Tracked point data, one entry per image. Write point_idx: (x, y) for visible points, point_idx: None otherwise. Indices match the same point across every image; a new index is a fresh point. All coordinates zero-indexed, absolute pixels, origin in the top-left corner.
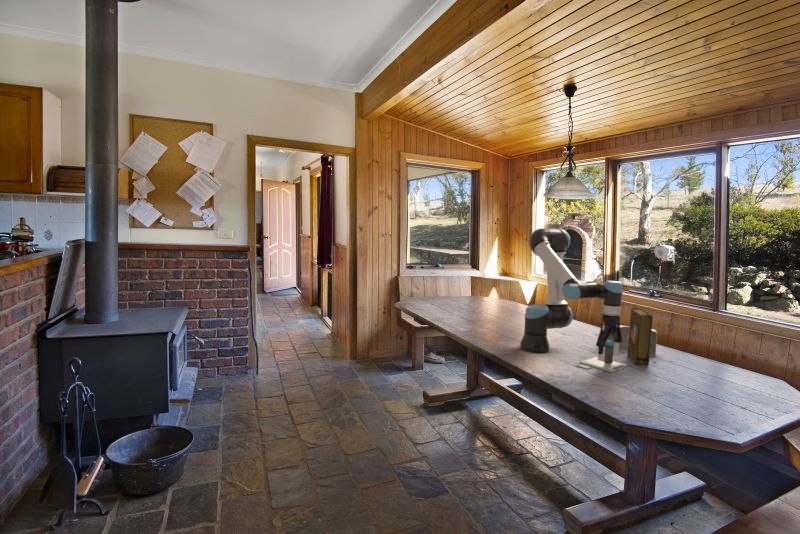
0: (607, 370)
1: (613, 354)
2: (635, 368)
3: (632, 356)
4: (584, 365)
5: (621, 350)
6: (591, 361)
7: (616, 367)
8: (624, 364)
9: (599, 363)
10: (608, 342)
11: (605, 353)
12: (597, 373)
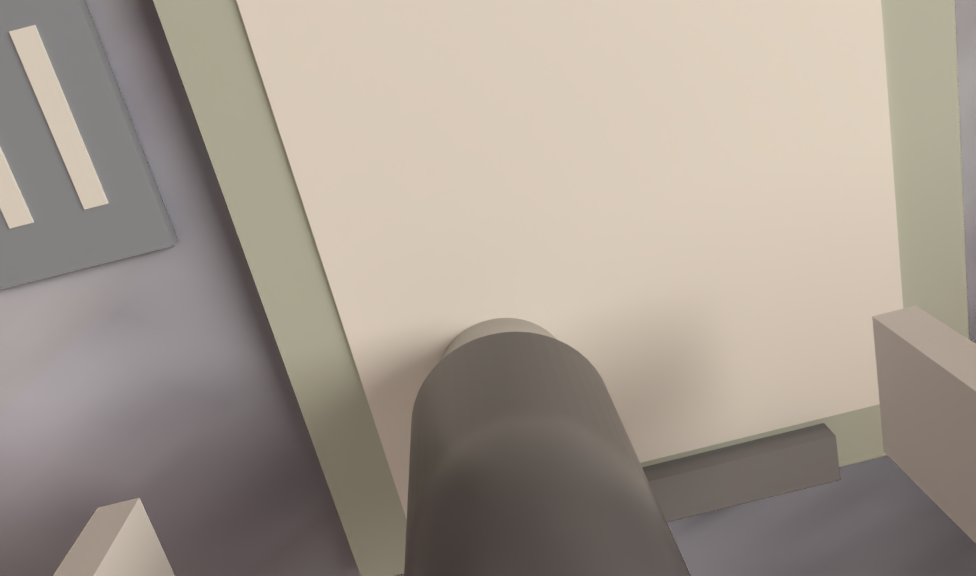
0: (337, 497)
1: (886, 367)
2: (958, 544)
3: None
4: (77, 101)
5: None
6: (411, 3)
7: None
8: None
9: (476, 195)
10: None
11: (404, 566)
12: (47, 514)
